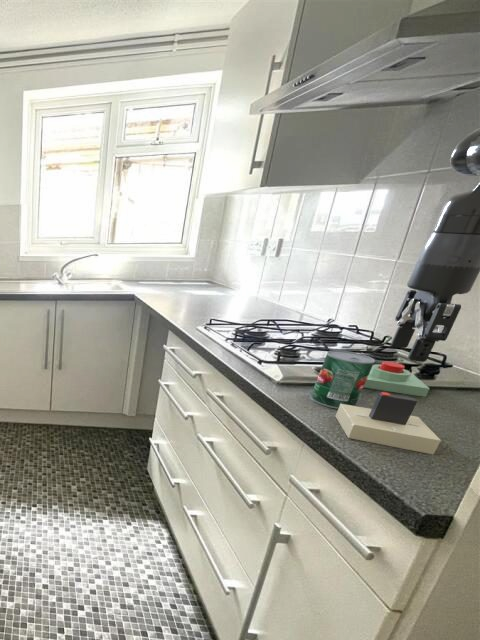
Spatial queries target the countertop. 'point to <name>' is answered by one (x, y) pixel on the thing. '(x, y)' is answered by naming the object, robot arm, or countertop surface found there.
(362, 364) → the canned tomato
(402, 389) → the button block
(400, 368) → the button
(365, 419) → the panel
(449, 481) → the countertop surface
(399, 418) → the oven knob
